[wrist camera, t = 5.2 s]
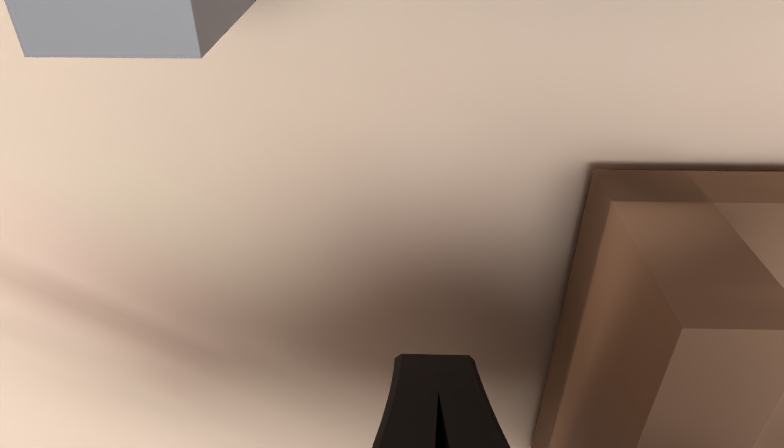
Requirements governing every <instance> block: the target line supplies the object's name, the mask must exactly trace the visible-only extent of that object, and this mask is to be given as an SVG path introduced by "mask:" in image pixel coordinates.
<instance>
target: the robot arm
mask: <svg viewBox="0 0 784 448" xmlns="http://www.w3.org/2000/svg"><path fill="white" fill-rule="evenodd" d="M372 448H510V446H509V444H508V442H507V440H506V438H505V436H504V434H503V432H502V430H501V428H500V425H499V423H498V421H497V419H496V416H495V414H494V412H493V410H492V407H491V405H490V403H489V400H488V398H487V395H486V393H485V390H484V388H483V385H482V382H481V379H480V377H479V374H478V371H477V368H476V364H475V361H474V359H473V358H471V357H470V356H469V355H428V354H400V355H399V356H398V357H396V358H395V362H394V371H393V377H392V383H391V387H390V392H389V396H388V400H387V403H386V407H385V410H384V414H383V417H382V421H381V424H380V427H379V429H378V432H377V435H376V438H375V441H374V444H373V447H372Z"/></svg>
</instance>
